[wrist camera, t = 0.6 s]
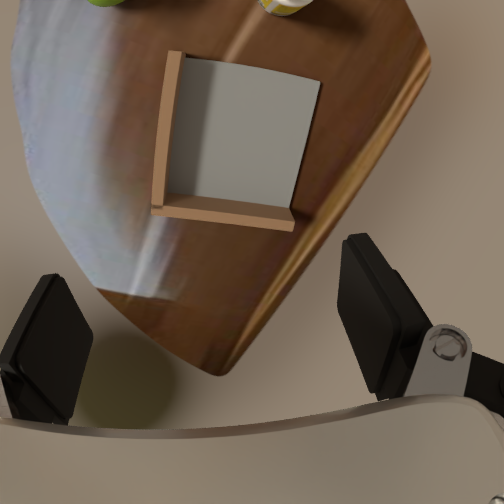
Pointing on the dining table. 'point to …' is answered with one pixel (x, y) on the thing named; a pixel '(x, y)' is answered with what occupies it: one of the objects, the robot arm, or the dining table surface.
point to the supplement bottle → (283, 6)
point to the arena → (230, 142)
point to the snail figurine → (105, 2)
